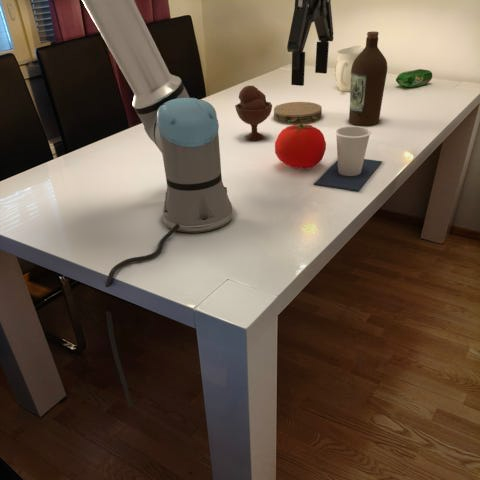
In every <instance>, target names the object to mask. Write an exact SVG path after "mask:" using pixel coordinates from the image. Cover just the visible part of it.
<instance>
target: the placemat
mask: <svg viewBox="0 0 480 480" xmlns="http://www.w3.org/2000/svg"><path fill="white" fill-rule="evenodd" d="M382 162H383V161H382V160H374V159H369V158H368V159H367V158H364V161H363V166H362V170H361V173H360V174H359V175H355V176H345V175H341V174H339V173H338V159H337V160H336V161H335V162H334V163H333V164H332V165H331V166H330V167H328V169H327V170H326V171H325V172H323V174H322V175H321V176H320V177H319V178H318V179H317V180H316V181H314V183H313V184H314V186H320V187H325V188H326V187H327V188H332V189H337V190H338V189H339V190H345V191H351V192H360V190H361V189H362V188H363V187H364V185H365V184H366V183H367V182H368V180H369V179H370V178H371V176H372V175H373V174H374V173H375V172H376V171H377V169H379V166H380V165H381V164H382Z"/></svg>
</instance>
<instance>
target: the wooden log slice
mask: <svg viewBox="0 0 480 480" xmlns="http://www.w3.org/2000/svg"><path fill="white" fill-rule="evenodd" d="M322 107H323V106H322V105H320V104H319V103H315V102H310V101H292V102H285V103H280V104H278V105H276V106H274V107H273V120H274V121H275V122H277V123H279V124H283V125H290V126H292V125H299V124H303V125H310V124H313V123H317V122H318V121H320V120H321V119H322V111H323V110H322V109H323V108H322Z"/></svg>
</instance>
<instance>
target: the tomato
mask: <svg viewBox="0 0 480 480" xmlns="http://www.w3.org/2000/svg"><path fill="white" fill-rule="evenodd" d="M326 151H327V142H326V139H325V135H324V134H323V132H322V131H321V130H320V129H319V128H317V127H315V126H313V125H312V124H299V125H288V126H286V127H285V128H282V129H281V131H280V132H279V134H278V135H277V137H276V140H275V142H274V153H275V155H276V157H277V159H278V160H279V161H280V162H282V164H284V165H286V166H289V167H290V168H293V169H306V170H309V169H311V168H314V167H316V166H318V164H320V163H321V162H322V161H323V158H324V157H325V153H326Z"/></svg>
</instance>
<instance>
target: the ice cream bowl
mask: <svg viewBox="0 0 480 480" xmlns="http://www.w3.org/2000/svg"><path fill="white" fill-rule="evenodd" d="M266 97H267V96H266V95H265V93H263V92H262V91H261V90H259V88H257V87H256V86H254V85H245V86H243V88H242V89H241V90H240V91H239V94H238V99H239V103H237V104H235V105H234V107H235V111H236V113H237V116H238V118H239V119H240V120H241V121H242V122H243V123H245V124H247V125H250V127H251V132H249V133H248V134H247V135H246V136H245V140H246V141H248V142H257V141H262V140H263V139H264V136H263V134H262V133H260V132H258V126H259V125H260V124H263V122H265V121H266V120H267V119H268V118H269V117H270V116H271V113H272V109H273V104H272V102H271V101H267V98H266Z"/></svg>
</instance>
